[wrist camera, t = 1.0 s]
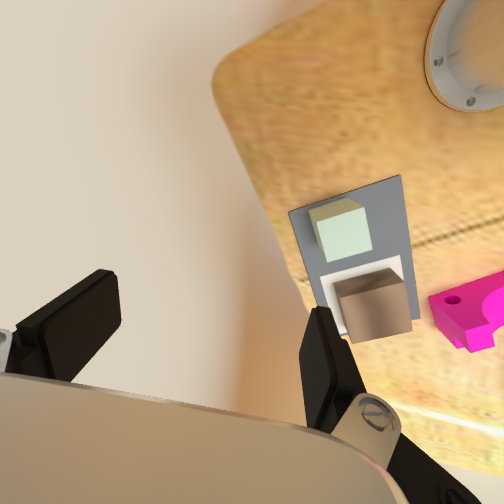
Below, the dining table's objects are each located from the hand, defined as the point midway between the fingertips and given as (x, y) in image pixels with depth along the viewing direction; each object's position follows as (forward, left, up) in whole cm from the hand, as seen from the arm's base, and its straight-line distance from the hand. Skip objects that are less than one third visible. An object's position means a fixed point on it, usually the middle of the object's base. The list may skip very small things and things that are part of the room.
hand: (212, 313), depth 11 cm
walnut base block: (-12, +18, -22) cm, 31 cm away
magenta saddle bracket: (-28, +23, -23) cm, 43 cm away
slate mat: (-12, +13, -23) cm, 29 cm away
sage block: (-10, +5, -22) cm, 25 cm away
